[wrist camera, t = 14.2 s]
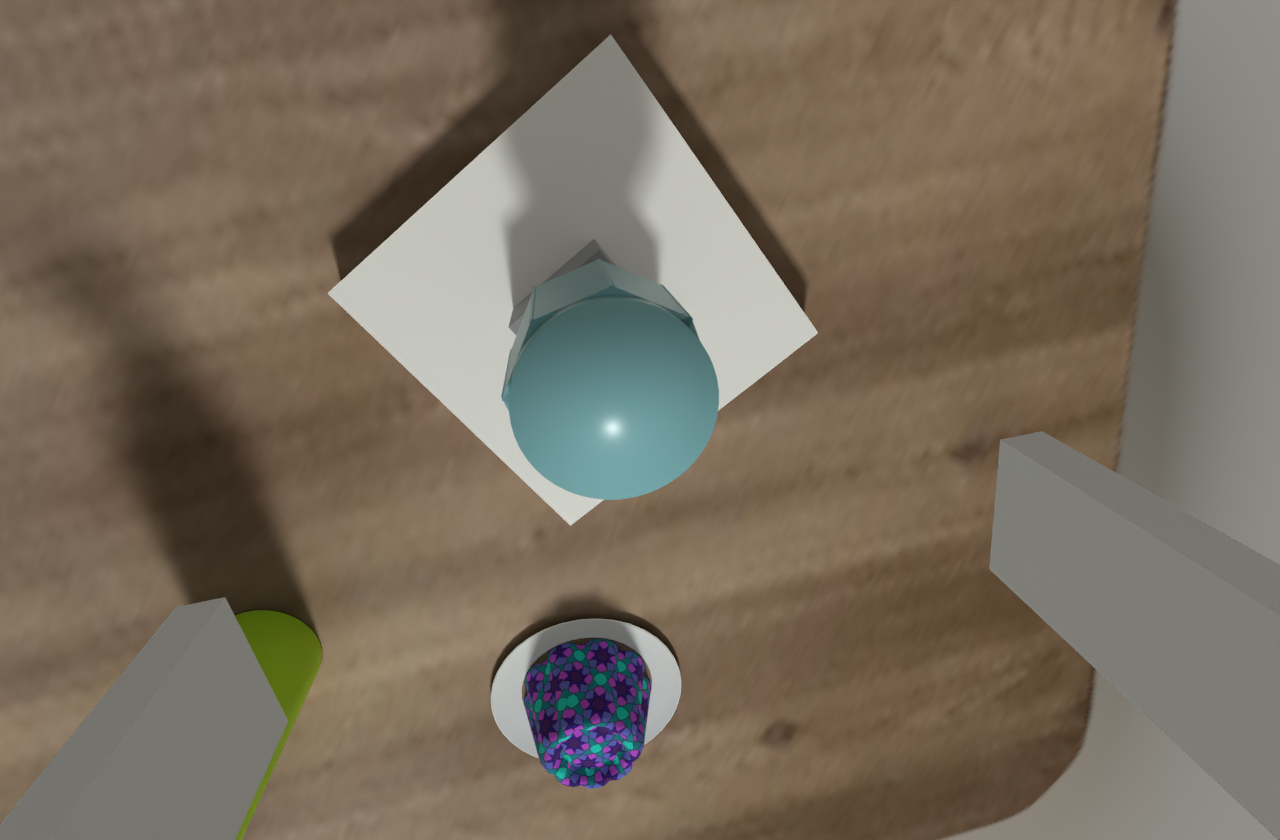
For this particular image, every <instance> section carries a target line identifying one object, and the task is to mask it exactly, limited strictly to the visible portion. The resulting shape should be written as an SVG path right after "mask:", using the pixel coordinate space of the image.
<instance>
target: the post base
mask: <svg viewBox="0 0 1280 840" xmlns="http://www.w3.org/2000/svg"><path fill="white" fill-rule="evenodd" d="M597 259H601V260H602V261H605V262H607V263H609V264H612V265H614V266H617V267H619V268H621V269H624V270H626V271H629V272H631V273H634V274H636V275H638V276H641V277H643V278H646V279H648V280H650V281H653V282H655V283H658V284H660V285H662V284H663V286H665V288H666V289H667V290H668V291H669V292H670V293H671V294H672V295H673V296H674V298H675V299H676V300H677V301H678V302H679V303H680V304H681V305H682V307H683V308H684V309H685V310H686V311H687V312H688V313H689V314H690V315H691V317H692V318H693V320H692V321H693V323H694V326H695V329H696V331H697V334H698V337H699V339H700V342H701V343H702V345H703V346H704V348H705V350H706V351H707V353H708V355H709V357H710V359H711V361H712V363H713V366H714V369H715V373H716V376H717V381H718V388H719V407H718V410H720V409H721V408H722V407H724V406H725V405H726V404H727V403H729V402H730V401H731V400H733V399H734V398H735V397H736V396H738V395H739V394H740V393H742V392H743V391H744V390H745V389H747V388H748V387H749V386H751V385H752V384H753V383H754V382H756V381H757V380H758V379H760V378H761V377H762V376H763V375H765V374H766V373H767V372H769V371H770V370H771V369H772V368H774V367H775V366H776V365H778V364H779V363H780V362H781V361H783V360H784V359H785V358H787V357H788V356H789V355H790V354H792V353H793V352H794V351H796V350H797V349H798V348H799V347H801V346H802V345H803V344H805V343H806V342H807V341H808V340H810V339H811V338H812V337H814V336H815V335H816V334H817V333H818V332H817V331H816V329H815V328H814V326H813V325H812V323H811V322H810V320H809V319H808V318H807V316H806V315H805V313H804V312H803V310H802V309H801V308H800V306H799V305H798V303H797V302H796V300H795V299H794V297H793V296H792V295H791V293H790V292H789V290H788V289H787V287H786V286H785V284H784V283H783V282H782V280H781V279H780V277H779V276H778V274H777V273H776V272H775V270H774V269H773V267H772V266H771V264H770V263H769V261H768V260H767V259H766V257H765V256H764V254H763V253H762V251H761V250H760V248H759V247H758V246H757V244H756V243H755V241H754V240H753V238H752V237H751V235H750V234H749V233H748V231H747V230H746V228H745V227H744V225H743V224H742V223H741V221H740V220H739V218H738V217H737V215H736V214H735V212H734V211H733V210H732V208H731V207H730V205H729V204H728V202H727V201H726V199H725V198H724V197H723V195H722V194H721V192H720V191H719V189H718V188H717V187H716V185H715V184H714V182H713V181H712V179H711V178H710V176H709V175H708V174H707V172H706V171H705V169H704V168H703V166H702V165H701V163H700V162H699V161H698V159H697V158H696V156H695V155H694V153H693V152H692V151H691V149H690V148H689V146H688V145H687V143H686V142H685V140H684V139H683V138H682V136H681V135H680V133H679V132H678V130H677V129H676V127H675V126H674V125H673V123H672V122H671V120H670V119H669V117H668V116H667V114H666V113H665V112H664V110H663V109H662V107H661V106H660V104H659V103H658V102H657V100H656V99H655V97H654V96H653V94H652V93H651V91H650V90H649V89H648V87H647V86H646V84H645V83H644V81H643V80H642V78H641V77H640V76H639V74H638V73H637V71H636V70H635V68H634V67H633V66H632V64H631V63H630V61H629V60H628V58H627V57H626V55H625V54H624V53H623V51H622V50H621V48H620V47H619V45H618V44H617V42H616V41H615V40H614V38H613V37H612V35H610V36H608V37H607V38H606V39H605V40H604V41H603V42H602V43H601V44H600V45H599V46H597V47H596V48H595V49H594V50H593V51H592V52H591V53H590V54H589V55H588V56H587V57H585V58H584V59H583V60H582V61H581V62H580V63H579V64H578V65H577V66H576V67H575V68H573V69H572V70H571V71H570V72H569V73H568V74H567V75H566V76H565V77H564V78H562V79H561V80H560V81H559V82H558V83H557V84H556V85H555V86H554V87H553V88H552V89H550V90H549V91H548V92H547V93H546V94H545V95H544V96H543V97H542V98H541V99H540V100H538V101H537V102H536V103H535V104H534V105H533V106H532V107H531V108H530V109H529V110H527V111H526V112H525V113H524V114H523V115H522V116H521V117H520V118H519V119H518V120H517V121H515V122H514V123H513V124H512V125H511V126H510V127H509V128H508V129H507V130H506V131H504V132H503V133H502V134H501V135H500V136H499V137H498V138H497V139H496V140H495V141H494V142H492V143H491V144H490V145H489V146H488V147H487V148H486V149H485V150H484V151H483V152H482V153H480V154H479V155H478V156H477V157H476V158H475V159H474V160H473V161H472V162H471V163H469V164H468V165H467V166H466V167H465V168H464V169H463V170H462V171H461V172H460V173H459V174H457V175H456V176H455V177H454V178H453V179H452V180H451V181H450V182H449V183H448V184H447V185H445V186H444V187H443V188H442V189H441V190H440V191H439V192H438V193H437V194H436V195H434V196H433V197H432V198H431V199H430V200H429V201H428V202H427V203H426V204H425V205H424V206H422V207H421V208H420V209H419V210H418V211H417V212H416V213H415V214H414V215H413V216H411V217H410V218H409V219H408V220H407V221H406V222H405V223H404V224H403V225H402V226H401V227H399V228H398V229H397V230H396V231H395V232H394V233H393V234H392V235H391V236H390V237H389V238H387V239H386V240H385V241H384V242H383V243H382V244H381V245H380V246H379V247H378V248H376V249H375V250H374V251H373V252H372V253H371V254H370V255H369V256H368V257H367V258H366V259H364V260H363V261H362V262H361V263H360V264H359V265H358V266H357V267H356V268H355V269H353V270H352V271H351V272H350V273H349V274H348V275H347V276H346V277H345V278H344V279H343V280H341V281H340V282H339V283H338V284H337V285H336V286H335V287H334V288H333V289H332V290H331V291H329V292H328V294H329V295H330V296H331V297H332V298H333V299H334V300H335V301H336V302H337V303H338V304H339V305H340V306H341V307H342V308H344V309H345V310H346V311H347V312H348V313H349V314H350V315H351V316H352V317H353V318H354V319H355V320H356V321H357V322H358V323H359V324H360V325H361V326H362V327H363V328H364V329H365V330H367V331H368V332H369V333H370V334H371V335H372V336H373V337H374V338H375V339H376V340H377V341H378V342H379V343H380V344H381V345H382V346H383V347H384V348H385V349H386V350H387V351H388V352H390V353H391V354H392V355H393V356H394V357H395V358H396V359H397V360H398V361H399V362H400V363H401V364H402V365H403V366H404V367H405V368H406V369H407V370H408V371H409V372H410V373H411V374H413V375H414V376H415V377H416V378H417V379H418V380H419V381H420V382H421V383H422V384H423V385H424V386H425V387H426V388H427V389H428V390H429V391H430V392H431V393H432V394H433V395H434V396H436V397H437V398H438V399H439V400H440V401H441V402H442V403H443V404H444V405H445V406H446V407H447V408H448V409H449V410H450V411H451V412H452V413H453V414H454V415H455V416H456V417H457V418H459V419H460V420H461V421H462V422H463V423H464V424H465V425H466V426H467V427H468V428H469V429H470V430H471V431H472V432H473V433H474V434H475V435H476V436H477V437H478V438H479V439H480V440H482V441H483V442H484V443H485V444H486V445H487V446H488V447H489V448H490V449H491V450H492V451H493V452H494V453H495V454H496V455H497V456H498V457H499V458H500V459H501V460H502V461H503V462H505V463H506V464H507V465H508V466H509V467H510V468H511V469H512V470H513V471H514V472H515V473H516V474H517V475H518V476H519V477H520V478H521V479H522V480H523V481H524V482H525V483H526V484H528V485H529V486H530V487H531V488H532V489H533V490H534V491H535V492H536V493H537V494H538V495H539V496H540V497H541V498H542V499H543V500H544V501H545V502H546V503H547V504H548V505H549V506H550V507H552V508H553V509H554V510H555V511H556V512H557V513H558V514H559V515H560V516H561V517H562V518H563V519H564V520H565V521H566V522H567V523H568V524H569V525H570V526H571V525H572V524H573V523H574V522H576V521H577V520H578V519H580V518H581V517H582V516H583V515H585V514H586V513H587V512H589V511H590V510H591V509H592V508H594V507H595V506H596V505H598V504H599V503H600V502H601V501H603V499H595V498H588V497H584V496H580V495H577V494H574V493H571V492H569V491H566V490H564V489H562V488H560V487H558V486H556V485H555V484H553V483H552V482H550V481H549V480H547V479H546V478H545V477H543V476H542V475H541V474H540V473H539V472H538V471H537V470H536V469H535V468H534V467H533V466H532V465H531V464H530V463H529V461H528V460H527V459H526V457H525V456H524V454H523V453H522V451H521V449H520V448H519V446H518V443H517V441H516V439H515V437H514V434H513V430H512V427H511V423H510V416H509V411H508V409H507V407H506V405H505V403H504V401H502V398H501V395H502V390H503V385H504V379H505V374H506V369H507V364H508V358H509V353H510V349H512V346H513V344H514V341H515V338H516V335H517V333H518V330H519V327H520V325H521V322H522V319H523V316H524V314H525V311H526V308H527V305H528V303H529V300H530V297H531V294H532V289H533V288H534V286H538V285H540V284H543V283H545V282H547V281H550V280H552V279H554V278H557V277H559V276H561V275H564V274H566V273H568V272H571V271H573V270H575V269H578V268H580V267H582V266H584V265H587V264H589V263H591V262H594V261H596V260H597Z"/></svg>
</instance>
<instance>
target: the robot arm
mask: <svg viewBox="0 0 1280 840" xmlns="http://www.w3.org/2000/svg"><path fill="white" fill-rule="evenodd" d="M989 569H990V570H991V571H992V572H993V573H994V574H995V575H996V576H997V577H998V578H999V579H1000V580H1001V581H1003V582H1004V583H1005V584H1006V585H1007V586H1008V587H1009V588H1010V589H1011V590H1012V591H1013V592H1014V593H1015V594H1016V595H1017V596H1019V597H1020V598H1021V599H1022V600H1023V601H1024V602H1025V603H1026V604H1027V605H1028V606H1029V607H1030V608H1031V609H1032V610H1033V611H1035V612H1036V613H1037V614H1038V615H1039V616H1040V617H1041V618H1042V619H1043V620H1044V621H1045V622H1046V623H1047V624H1048V625H1049V626H1051V627H1052V628H1053V629H1054V630H1055V631H1056V632H1057V633H1058V634H1059V635H1060V636H1061V637H1062V638H1063V639H1064V640H1065V641H1067V642H1068V643H1069V644H1070V645H1071V646H1072V647H1073V648H1074V649H1075V650H1076V651H1077V652H1078V653H1079V654H1080V655H1081V656H1083V657H1084V658H1085V659H1086V660H1087V661H1088V662H1089V663H1090V664H1091V665H1092V666H1093V667H1094V668H1095V669H1096V670H1097V671H1099V672H1100V673H1101V674H1102V675H1103V676H1104V677H1105V678H1106V679H1107V680H1108V681H1109V682H1110V683H1111V684H1112V685H1113V686H1115V687H1116V688H1117V689H1118V690H1119V691H1120V692H1121V693H1122V694H1123V695H1124V696H1125V697H1126V698H1127V699H1129V701H1131V702H1132V703H1133V704H1134V705H1135V706H1136V707H1137V708H1138V709H1139V710H1140V711H1141V712H1142V713H1143V714H1144V715H1145V716H1147V717H1148V718H1149V719H1150V720H1151V721H1152V722H1153V723H1154V724H1155V725H1156V726H1157V727H1158V728H1159V729H1160V730H1162V731H1163V732H1164V733H1165V734H1166V735H1167V736H1168V737H1169V738H1170V739H1171V740H1172V741H1173V742H1174V743H1175V744H1176V745H1178V746H1179V747H1180V748H1181V749H1182V750H1183V751H1184V752H1185V753H1186V754H1187V755H1188V756H1189V757H1190V758H1191V759H1192V760H1194V761H1195V762H1196V763H1197V764H1198V765H1199V766H1200V767H1201V768H1202V769H1203V770H1204V771H1205V772H1206V773H1207V774H1209V775H1210V776H1211V777H1212V778H1213V779H1214V780H1215V781H1216V782H1217V783H1218V784H1219V785H1220V786H1222V788H1223V789H1224V790H1226V791H1227V792H1228V793H1229V794H1230V795H1231V796H1232V797H1233V798H1234V799H1235V800H1236V801H1237V802H1238V803H1239V804H1240V805H1242V806H1243V807H1244V808H1245V809H1246V810H1247V811H1248V812H1249V813H1250V814H1251V815H1252V816H1253V817H1254V818H1255V819H1257V820H1258V821H1259V822H1260V823H1261V824H1262V825H1263V826H1264V827H1265V828H1266V829H1267V830H1268V831H1269V832H1270V833H1272V835H1274V836H1275V837H1276V838H1277V839H1278V840H1280V565H1279V564H1277V563H1276V562H1274V561H1272V560H1270V559H1268V558H1267V557H1265V556H1263V555H1261V554H1260V553H1258V552H1256V551H1254V550H1252V549H1250V548H1249V547H1247V546H1245V545H1244V544H1242V543H1240V542H1238V541H1236V540H1235V539H1233V538H1231V537H1229V536H1227V535H1226V534H1224V533H1222V532H1220V531H1219V530H1217V529H1215V528H1213V527H1211V526H1209V525H1208V524H1206V523H1204V522H1202V521H1201V520H1199V519H1197V518H1195V517H1194V516H1192V515H1190V514H1188V513H1186V512H1185V511H1183V510H1181V509H1179V508H1177V507H1176V506H1174V505H1172V504H1170V503H1169V502H1167V501H1165V500H1163V499H1161V498H1160V497H1158V496H1156V495H1154V494H1153V493H1151V492H1149V491H1147V490H1145V489H1144V488H1142V487H1140V486H1138V485H1137V484H1135V483H1133V482H1131V481H1129V480H1128V479H1126V478H1124V477H1122V476H1121V475H1119V474H1117V473H1115V472H1113V471H1112V470H1110V469H1108V468H1106V467H1104V466H1103V465H1101V464H1099V463H1097V462H1096V461H1094V460H1092V459H1090V458H1088V457H1087V456H1085V455H1083V454H1081V453H1080V452H1078V451H1076V450H1074V449H1072V448H1071V447H1069V446H1067V445H1065V444H1064V443H1062V442H1060V441H1058V440H1056V439H1055V438H1053V437H1051V436H1049V435H1047V434H1046V433H1044V432H1042V431H1041V432H1036V433H1031V434H1026V435H1021V436H1017V437H1012V438H1007V439H1002V440H1000V450H999V462H998V473H997V485H996V497H995V508H994V520H993V532H992V543H991V555H990V567H989ZM287 723H288V719H287V717H286V715H285V713H284V711H283V710H282V708H281V706H280V704H279V702H278V700H277V698H276V696H275V694H274V692H273V690H272V688H271V686H270V684H269V682H268V680H267V678H266V676H265V674H264V672H263V670H262V668H261V666H260V664H259V663H258V661H257V659H256V657H255V655H254V653H253V651H252V649H251V647H250V645H249V643H248V641H247V639H246V637H245V635H244V633H243V631H242V629H241V627H240V625H239V623H238V621H237V619H236V617H235V615H234V614H233V612H232V610H231V608H230V606H229V604H228V602H227V600H226V598H225V597H223V598H218V599H214V600H209V601H204V602H199V603H194V604H189V605H184V606H179V607H176V608H175V609H174V610H173V611H172V612H171V614H170V615H169V616H168V617H167V619H166V620H165V621H164V622H163V624H162V625H161V626H160V627H159V628H158V630H157V631H156V632H155V633H154V635H153V636H152V637H151V638H150V640H149V641H148V642H147V643H146V645H145V646H144V647H143V648H142V649H141V651H140V652H139V653H138V654H137V656H136V657H135V658H134V659H133V661H132V662H131V663H130V664H129V665H128V667H127V668H126V669H125V670H124V672H123V673H122V674H121V675H120V677H119V678H118V679H117V680H116V681H115V683H114V684H113V685H112V686H111V688H110V689H109V690H108V691H107V693H106V694H105V695H104V696H103V698H102V699H101V700H100V701H99V702H98V704H97V705H96V706H95V707H94V709H93V710H92V711H91V712H90V714H89V715H88V716H87V717H86V718H85V720H84V721H83V722H82V723H81V725H80V726H79V727H78V728H77V730H76V731H75V732H74V733H73V734H72V736H71V737H70V738H69V739H68V741H67V742H66V743H65V744H64V746H63V747H62V748H61V749H60V751H59V752H58V753H57V754H56V755H55V757H54V758H53V759H52V760H51V762H50V763H49V764H48V765H47V767H46V768H45V769H44V770H43V771H42V773H41V774H40V775H39V776H38V778H37V779H36V780H35V781H34V783H33V784H32V785H31V786H30V787H29V789H28V790H27V791H26V792H25V794H24V795H23V796H22V797H21V799H20V800H19V801H18V802H17V804H16V805H15V806H14V807H13V808H12V810H11V811H10V812H9V813H8V815H7V816H6V817H5V818H4V820H3V821H2V822H1V823H0V840H235V839H236V836H237V834H238V832H239V830H240V828H241V825H242V823H243V821H244V819H245V816H246V814H247V812H248V810H249V808H250V805H251V803H252V801H253V799H254V796H255V794H256V792H257V790H258V788H259V785H260V783H261V781H262V779H263V776H264V774H265V772H266V770H267V768H268V765H269V763H270V761H271V759H272V757H273V754H274V752H275V750H276V748H277V745H278V743H279V741H280V739H281V737H282V734H283V732H284V730H285V728H286V725H287Z"/></svg>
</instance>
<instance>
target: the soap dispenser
mask: <svg viewBox="0 0 1280 840" xmlns="http://www.w3.org/2000/svg"><path fill="white" fill-rule="evenodd" d="M235 617H236V619H237V621H238V623H239V625H240V627H241V629H242V631H243V633H244V635H245V637H246V639H247V641H248V643H249V645H250V647H251V649H252V651H253V653H254V655H255V657H256V659H257V661H258V663H259V664H260V666H261V668H262V670H263V672H264V674H265V676H266V678H267V680H268V682H269V684H270V686H271V688H272V690H273V692H274V694H275V696H276V698H277V700H278V702H279V704H280V706H281V708H282V710H283V711H284V713H285V715H286V717H287V719H288V723H287V725H286V728H285V730H284V732H283V734H282V737H281V739H280V741H279V743H278V745H277V748H276V750H275V752H274V754H273V757H272V759H271V761H270V763H269V765H268V768H267V770H266V772H265V774H264V776H263V779H262V781H261V783H260V785H259V788H258V790H257V792H256V794H255V796H254V799H253V801H252V803H251V805H250V808H249V810H248V812H247V814H246V816H245V819H244V821H243V823H242V825H241V828H240V830H239V832H238V834H237V836H236V839H235V840H242V838H243V836H244V834H245V831H246V829H247V827H248V825H249V822H250V820H251V818H252V816H253V814H254V811H255V809H256V807H257V805H258V802H259V800H260V798H261V796H262V794H263V791H264V789H265V787H266V785H267V783H268V780H269V778H270V776H271V774H272V771H273V769H274V767H275V765H276V763H277V760H278V758H279V756H280V754H281V751H282V749H283V747H284V745H285V743H286V740H287V738H288V736H289V734H290V731H291V729H292V727H293V725H294V723H295V720H296V718H297V716H298V714H299V711H300V709H301V707H302V705H303V703H304V700H305V698H306V696H307V694H308V691H309V689H310V687H311V685H312V683H313V680H314V678H315V676H316V674H317V671H318V669H319V667H320V664H321V661H322V648H321V644H320V642H319V640H318V638H317V636H316V635H315V633H314V632H313V631H312V630H311V629H310V628H309V627H308V626H307V625H306V624H304V623H303V622H302V621H300V620H298V619H296V618H295V617H292V616H290V615H287V614H284V613H281V612H276V611H270V610H254V611H247V612H243V613H240V614H237V615H235Z"/></svg>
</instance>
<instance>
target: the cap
mask: <svg viewBox="0 0 1280 840" xmlns="http://www.w3.org/2000/svg"><path fill="white" fill-rule="evenodd" d="M692 320H693V318H692V317H691V315H690V314H689V313H688V312H687V311H686V310H685V309H684V308H683V307H682V305H681V304H680V303H679V302H678V301H677V300H676V299H675V298H674V296H673V295H672V294H671V293H670V292H669V291H668V290H667V289H666V288H665V286H663V284H662V285H660V284H658V283H655V282H653V281H650V280H648V279H646V278H643V277H641V276H638V275H636V274H634V273H631V272H629V271H626V270H624V269H621V268H619V267H617V266H614V265H612V264H609V263H607V262H605V261H602V260H601V259H597V260H596V261H594V262H591V263H589V264H587V265H584V266H582V267H580V268H578V269H575V270H573V271H571V272H568V273H566V274H564V275H561V276H559V277H557V278H554V279H552V280H550V281H547V282H545V283H543V284H540V285H538V286H534V288H533V289H532V294H531V297H530V300H529V303H528V305H527V308H526V311H525V314H524V316H523V319H522V322H521V325H520V327H519V330H518V333H517V335H516V338H515V341H514V344H513V346H512V349H510V353H509V358H508V364H507V369H506V374H505V379H504V385H503V390H502V395H501V398H502V401H504V403H505V405H506V407H507V409H508V411H509V416H510V423H511V427H512V430H513V434H514V437H515V439H516V441H517V443H518V446H519V448H520V449H521V451H522V453H523V454H524V456H525V457H526V459H527V460H528V461H529V463H530V464H531V465H532V466H533V467H534V468H535V469H536V470H537V471H538V472H539V473H540V474H541V475H542V476H543V477H545V478H546V479H547V480H549V481H550V482H552V483H553V484H555V485H556V486H558V487H560V488H562V489H564V490H566V491H569V492H571V493H574V494H577V495H580V496H584V497H588V498H595V499H603V500H617V499H626V498H632V497H636V496H640V495H644V494H647V493H649V492H652V491H655V490H657V489H659V488H661V487H663V486H665V485H667V484H668V483H670V482H671V481H673V480H674V479H676V478H677V477H679V476H680V475H681V474H682V473H683V472H685V471H686V470H687V469H688V468H689V467H690V466H691V465H692V464H693V463H694V462H695V460H696V459H697V458H698V456H699V455H700V454H701V452H702V451H703V450H704V448H705V446H706V444H707V443H708V441H709V439H710V436H711V434H712V432H713V429H714V426H715V422H716V419H717V414H718V407H719V388H718V381H717V376H716V373H715V369H714V366H713V363H712V361H711V359H710V357H709V355H708V353H707V351H706V350H705V348H704V346H703V345H702V343H701V342H700V339H699V337H698V334H697V331H696V329H695V326H694V323H693V321H692Z"/></svg>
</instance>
